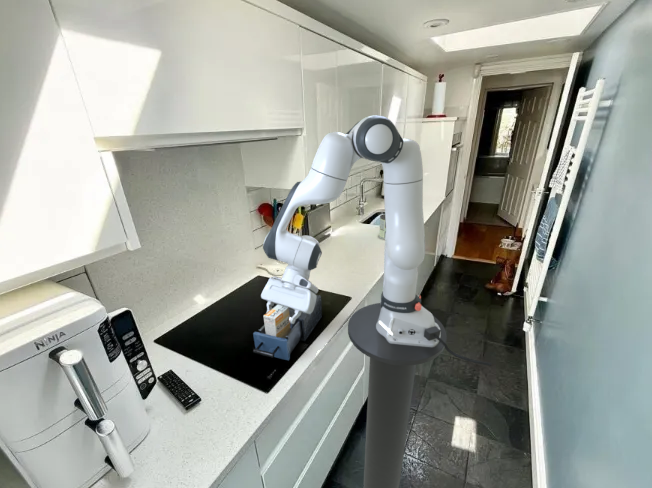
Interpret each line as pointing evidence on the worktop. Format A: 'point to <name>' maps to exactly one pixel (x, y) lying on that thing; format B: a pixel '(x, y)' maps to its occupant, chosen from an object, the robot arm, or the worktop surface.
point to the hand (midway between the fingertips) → (279, 319)
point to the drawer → (278, 342)
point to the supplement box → (277, 321)
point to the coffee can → (382, 226)
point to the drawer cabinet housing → (309, 318)
